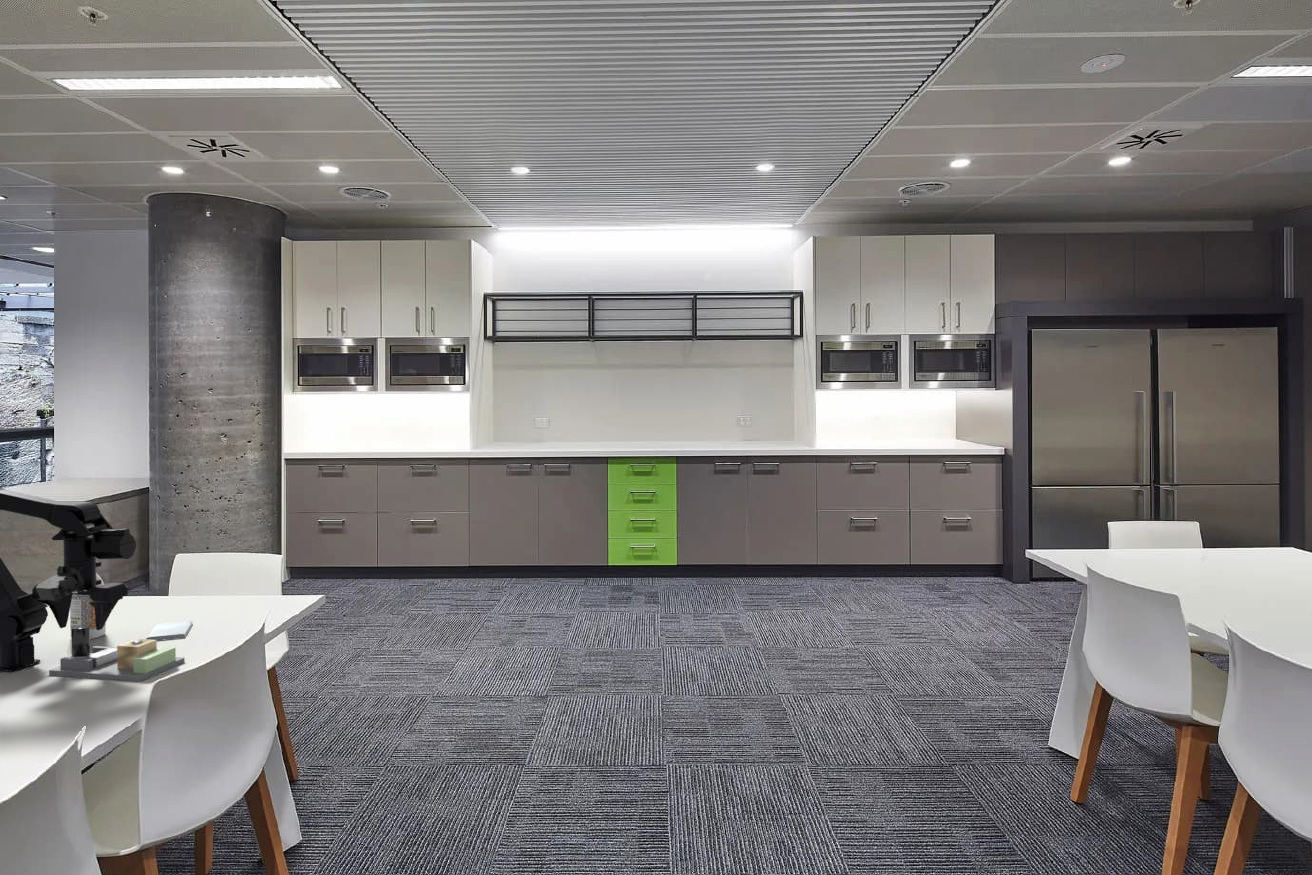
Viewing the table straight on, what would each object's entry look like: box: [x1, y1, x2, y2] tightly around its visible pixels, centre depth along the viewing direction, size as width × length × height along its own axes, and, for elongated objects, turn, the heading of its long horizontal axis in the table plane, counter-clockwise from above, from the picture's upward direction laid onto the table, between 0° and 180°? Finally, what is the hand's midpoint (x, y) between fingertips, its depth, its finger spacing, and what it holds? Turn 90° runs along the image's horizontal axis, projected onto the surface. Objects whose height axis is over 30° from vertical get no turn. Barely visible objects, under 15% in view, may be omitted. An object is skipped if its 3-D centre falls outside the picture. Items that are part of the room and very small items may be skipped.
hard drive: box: [145, 620, 193, 641], centre depth 186 cm, size 2×8×12 cm
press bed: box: [48, 645, 185, 682], centre depth 160 cm, size 22×12×4 cm, turn 83°
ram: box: [69, 626, 117, 667], centre depth 161 cm, size 9×6×7 cm
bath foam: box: [69, 572, 107, 640], centre depth 181 cm, size 7×7×20 cm
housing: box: [116, 638, 158, 670], centre depth 159 cm, size 5×5×5 cm
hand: (81, 628), depth 161 cm, fingers open, 9 cm apart
